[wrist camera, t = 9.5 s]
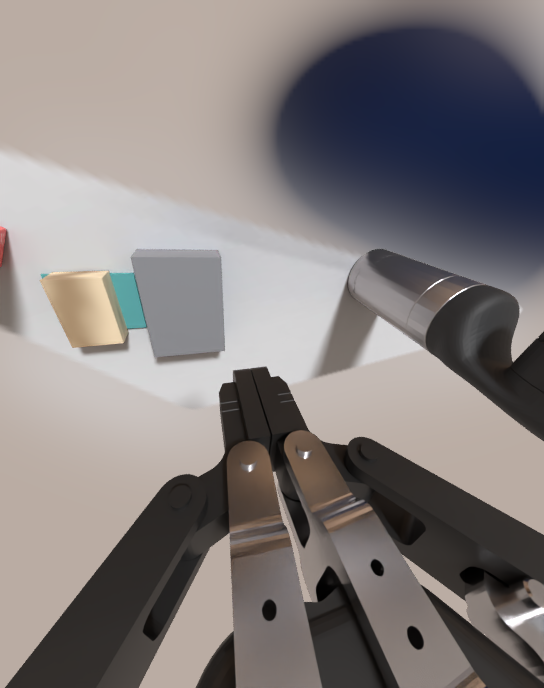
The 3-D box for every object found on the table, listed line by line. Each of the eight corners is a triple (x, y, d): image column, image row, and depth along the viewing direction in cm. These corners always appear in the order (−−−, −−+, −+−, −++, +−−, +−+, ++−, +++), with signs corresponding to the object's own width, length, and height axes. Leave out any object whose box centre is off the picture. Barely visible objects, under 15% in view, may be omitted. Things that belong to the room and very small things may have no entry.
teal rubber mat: (134, 272, 32) (133, 273, 31) (146, 326, 36) (146, 327, 36) (41, 274, 29) (40, 274, 29) (67, 331, 33) (66, 332, 33)
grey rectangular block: (218, 250, 33) (220, 257, 30) (222, 337, 40) (225, 350, 37) (137, 249, 30) (130, 257, 27) (157, 342, 38) (154, 357, 35)
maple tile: (39, 280, 27) (52, 272, 29) (72, 347, 31) (80, 336, 34) (101, 278, 28) (108, 270, 30) (123, 343, 33) (128, 332, 35)
